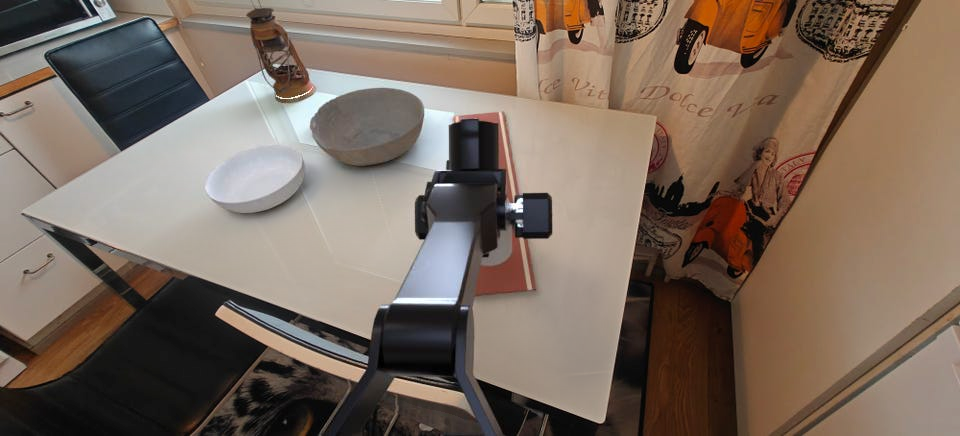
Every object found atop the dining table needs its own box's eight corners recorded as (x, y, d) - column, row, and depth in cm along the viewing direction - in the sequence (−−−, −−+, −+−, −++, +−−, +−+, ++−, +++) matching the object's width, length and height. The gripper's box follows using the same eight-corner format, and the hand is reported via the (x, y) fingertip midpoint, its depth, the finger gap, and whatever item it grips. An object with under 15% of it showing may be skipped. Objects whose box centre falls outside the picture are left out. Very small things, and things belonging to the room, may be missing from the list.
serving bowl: (220, 238, 85) (202, 215, 80) (221, 183, 99) (205, 161, 94) (319, 204, 90) (308, 180, 86) (306, 157, 104) (296, 134, 100)
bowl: (322, 132, 112) (308, 99, 105) (418, 110, 117) (411, 77, 110) (325, 192, 93) (309, 157, 86) (441, 163, 98) (434, 127, 91)
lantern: (328, 86, 133) (291, -16, 112) (303, 105, 125) (258, 0, 104) (288, 81, 138) (246, -17, 118) (261, 99, 130) (210, -2, 109)
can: (458, 252, 68) (449, 198, 60) (491, 229, 72) (486, 175, 63) (488, 277, 64) (483, 223, 56) (521, 251, 67) (521, 197, 59)
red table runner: (535, 290, 69) (535, 289, 69) (454, 297, 70) (454, 296, 70) (503, 112, 112) (503, 111, 112) (453, 117, 113) (453, 116, 113)
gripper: (555, 146, 48) (546, 165, 63) (401, 150, 50) (429, 168, 65) (556, 240, 48) (547, 236, 63) (402, 241, 50) (430, 237, 65)
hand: (488, 217), depth 64 cm, fingers closed on can, 7 cm apart
